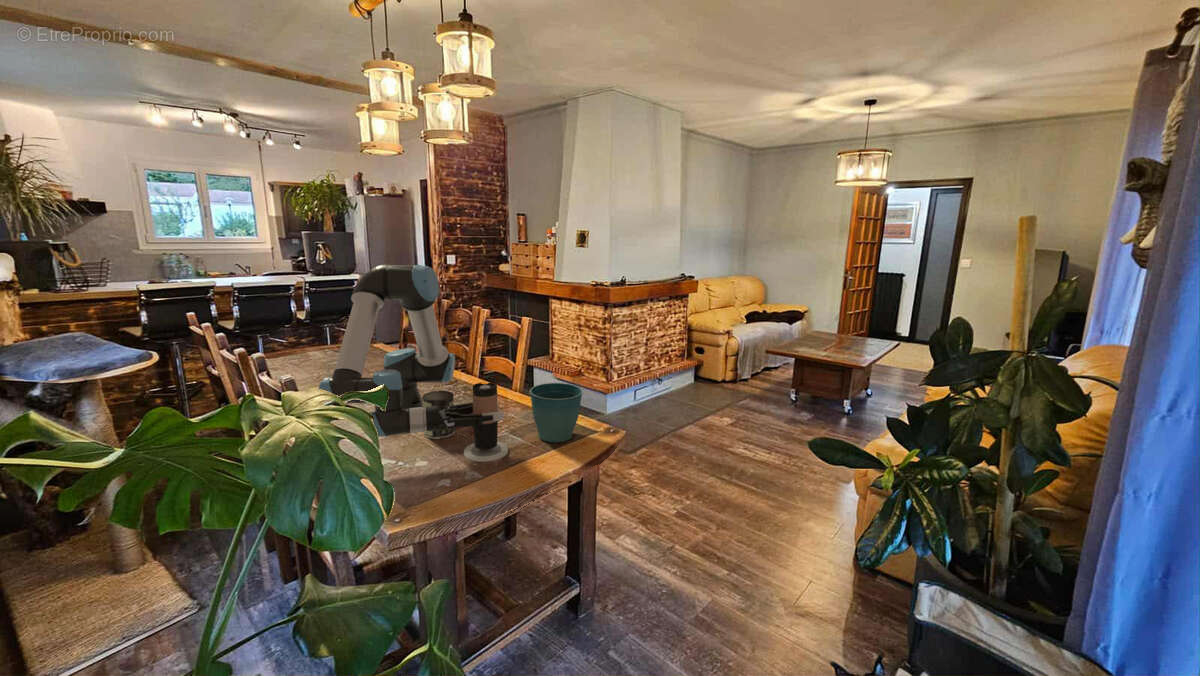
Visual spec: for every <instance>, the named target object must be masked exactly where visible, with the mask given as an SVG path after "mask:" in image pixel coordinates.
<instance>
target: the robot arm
mask: <svg viewBox="0 0 1200 676" xmlns="http://www.w3.org/2000/svg"><path fill="white" fill-rule="evenodd" d="M439 283H440V282H439V278H438V275H437V274H436V271H435V270H434V269H433V268H432V267H430V266H428V265H421V264H415V265H405V264H380V265H377V266H375V267H373V268H371V269H370V270H368V271H367V272H366V273H365V274H364V275H362V277H361V278H359V280H358V281H357V283H356V284H355V286H354V288H353V291H352V294H351V302H352V303H353V304H352V308H351V311H350V312H349V313H350V314H349V317H348V320H347V325H346V329H345V331H344V335H343V339H342V342H341V346H340V349H339V352H338V356H337V359H336V363H335V366H334V369H333V374H332V376H328V377H324V378H322V380H321V381H320V382H319V384H318V390H319V389H323V390H326V391H329V392H331V393H333V394H335V395H338V396H340V395H342V394H344V393H346V392H350V391H368V390H371V389H373V388H376V387H378V386H380V385H383V384H384V385H386V386H387V387H388V389H389V399H388V402H387V406H386V411H385V412H384V411H382V410H381V409H380V407H378V406H376V405H375V404H374V411H370V412H369V413H371V414H372V415H373V416H374V419H373V422H374V425H375V427H376V429H377V432H378V436H379V437H380V438H382V437H386V438H387V437H391V436H399V435H400V436H401V435H407V434H409V435H410V434H415V435H416V434H418V433H424V431H425V430H426V429H427V431H436V430H439V428H440V425H447V428H448V429H450V428H454V429H455V428H467V427H468V428H469V427H471V428H472V427H473V426H482V425H483V424H482V422H491V421H498V422H499V421H504V411H503V410H500V411H499V409H500V403H499V402H497V407H498V412H490V413H482V415H473V402H467V403H461V404H454V405H453V406H444V410H440V411H439V409H438V406H428V407H426V409H423V399H422V396H421V395H422V394H421V393H420V390H419V387H418V383H426V384H427V383H429V384H443V383H450V382H451V381H452V379H453V377H454V372H455V368H456V367H455V366H456V355H455V354H454V353H451V352H450V353H449V350H448V349H447V347H446V346H444V345H443V343H442V338H441V334H440V330H439V326H438V321H437V318H436V317H437V316H436V313H435V308H434V304H435V302H436V301H437V300H438V298H439V294H440V286H439ZM387 300H389V301H399V304H400V306H401V308H402V309H403V310H405V311H407V313H408V318H409V321H410V323H411V328H412V331H413V335H414V338H415V341H416V342H415V343H416V344H417V348H418V352H417V351H416V349H415V348H411V347H409V348H408V347H407V348H401V349H400V348H399V349H395V350H392V351H390V352H387V353H386V354H385V355H384V357H383V369H382V370H378V371H375V372H374V373H373V374H372V377H362V376H363V371H364V367H365V364H366V361H367V356H368V352H369V348H370V345H371V342H372V337H373V333H374V329H375V325H376V322H377V318H378V315H379V311H380V309H382V308H383V307H384V304H385V301H387ZM346 404H369V403H366V402H364V401H360V400H351V401H348V402H347V403H346ZM379 437H378V438H379Z"/></svg>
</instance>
